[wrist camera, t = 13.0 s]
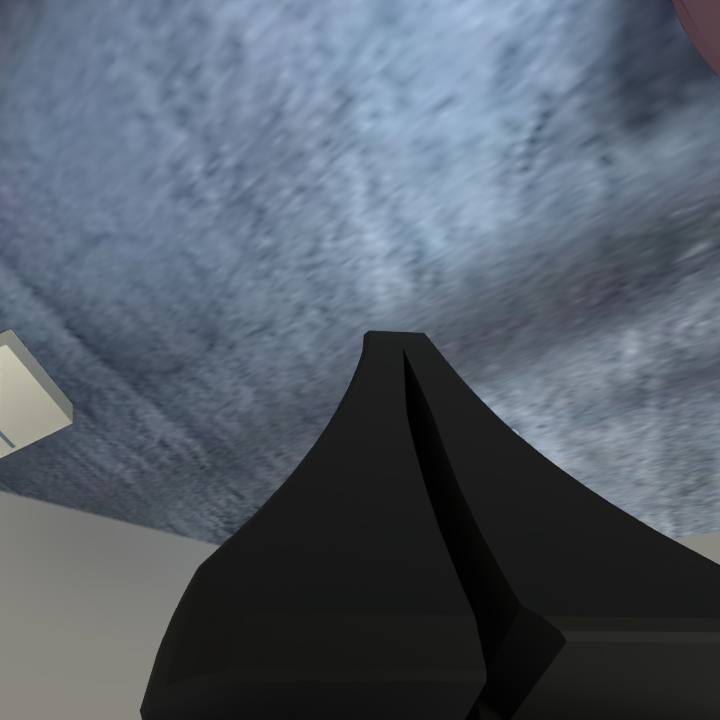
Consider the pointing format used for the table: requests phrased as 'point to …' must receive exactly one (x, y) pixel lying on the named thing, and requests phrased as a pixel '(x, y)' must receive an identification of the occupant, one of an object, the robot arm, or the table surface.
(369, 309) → the table surface
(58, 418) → the domino
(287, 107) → the table surface
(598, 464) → the table surface
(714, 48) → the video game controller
